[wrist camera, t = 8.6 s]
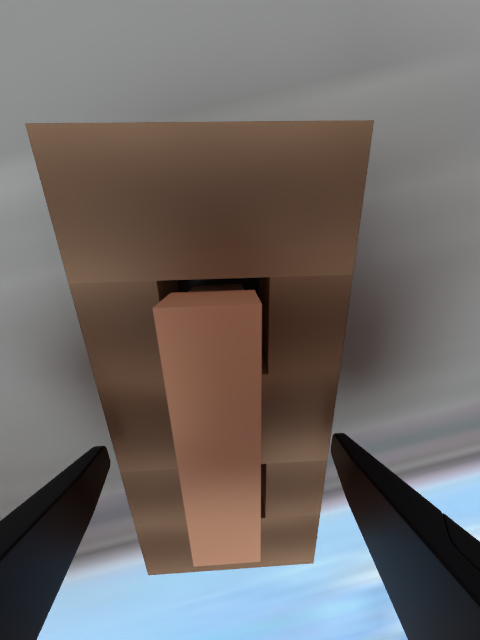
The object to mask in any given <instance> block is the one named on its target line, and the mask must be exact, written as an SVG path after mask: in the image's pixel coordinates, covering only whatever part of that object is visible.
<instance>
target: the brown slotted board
mask: <svg viewBox="0 0 480 640" xmlns="http://www.w3.org/2000/svg"><path fill="white" fill-rule="evenodd" d="M373 124H374V120H367V121H253V122H140V123H27V124H25V125H26V129H27V132H28V136H29V140H30V143H31V147H32V151H33V154H34V158H35V162H36V165H37V169H38V173H39V176H40V180H41V184H42V187H43V191H44V195H45V198H46V202H47V206H48V209H49V213H50V217H51V220H52V224H53V228H54V231H55V235H56V239H57V242H58V246H59V250H60V253H61V257H62V261H63V264H64V268H65V272H66V275H67V279H68V283H69V286H70V290H71V294H72V297H73V301H74V305H75V308H76V312H77V316H78V319H79V323H80V327H81V330H82V334H83V338H84V341H85V345H86V349H87V352H88V356H89V360H90V363H91V367H92V371H93V374H94V378H95V382H96V385H97V389H98V393H99V396H100V400H101V404H102V407H103V411H104V415H105V418H106V422H107V426H108V429H109V433H110V437H111V440H112V444H113V448H114V451H115V455H116V459H117V462H118V466H119V470H120V473H121V477H122V481H123V484H124V488H125V492H126V495H127V499H128V503H129V506H130V510H131V514H132V517H133V521H134V525H135V528H136V532H137V536H138V539H139V543H140V547H141V550H142V554H143V558H144V561H145V565H146V569H147V572H148V575H157V574H171V573H185V572H199V571H212V570H226V569H240V568H254V567H268V566H281V565H295V564H309V563H313V562H314V554H315V547H316V540H317V533H318V525H319V518H320V511H321V503H322V496H323V489H324V481H325V474H326V467H327V460H328V452H329V445H330V438H331V430H332V423H333V416H334V408H335V401H336V394H337V386H338V379H339V372H340V365H341V357H342V350H343V343H344V335H345V328H346V321H347V313H348V306H349V299H350V292H351V284H352V277H353V270H354V262H355V255H356V248H357V240H358V233H359V226H360V218H361V211H362V204H363V197H364V189H365V182H366V175H367V167H368V160H369V153H370V145H371V138H372V131H373ZM228 278H259V300H260V301H261V303H262V373H261V560H260V562H251V563H237V564H224V565H210V566H196V567H194V566H193V560H192V554H191V547H190V541H189V535H188V528H187V522H186V516H185V509H184V503H183V497H182V491H181V484H180V478H179V472H178V465H177V459H176V453H175V447H174V440H173V434H172V428H171V421H170V415H169V409H168V402H167V396H166V390H165V384H164V377H163V371H162V365H161V358H160V352H159V346H158V340H157V333H156V327H155V321H154V314H153V307H154V306H156V305H157V304H158V303H159V302H160V301H161V300H163V299H164V298H165V297H166V296H167V295H169V294H170V293H177V292H178V285H177V280H196V279H228Z"/></svg>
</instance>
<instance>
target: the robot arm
mask: <svg viewBox="0 0 480 640" xmlns="http://www.w3.org/2000/svg"><path fill="white" fill-rule="evenodd" d="M331 454H332V458H333V461H334V464H335V467H336V469H337V472H338V475H339V478H340V481H341V484H342V487H343V490H344V493H345V496H346V499H347V501H348V504H349V506H350V508H351V511H352V513H353V515H354V517H355V520H356V522H357V524H358V526H359V529H360V531H361V533H362V536H363V538H364V540H365V542H366V545H367V547H368V549H369V552H370V554H371V556H372V558H373V561H374V563H375V565H376V568H377V570H378V572H379V574H380V577H381V579H382V581H383V583H384V586H385V588H386V590H387V593H388V595H389V597H390V599H391V602H392V604H393V606H394V609H395V611H396V613H397V615H398V618H399V620H400V622H401V624H402V627H403V629H404V631H405V634H406V636H407V638H408V640H480V542H479V541H478V540H477V539H476V538H474V537H473V536H472V535H471V534H469V533H468V532H467V531H465V530H464V529H463V528H462V527H460V526H459V525H458V524H456V523H455V522H454V521H453V520H452V519H450V518H449V517H448V516H447V515H445V514H442V512H441V511H440V510H439V509H438V508H436V507H435V506H434V505H433V504H431V503H430V502H429V501H428V500H427V499H425V498H424V497H423V496H422V495H420V494H419V493H418V492H417V491H415V490H414V489H413V488H412V487H410V486H409V485H408V484H407V483H405V482H404V481H403V480H402V479H400V478H399V477H398V476H397V475H395V474H394V473H393V472H392V471H390V470H389V469H388V468H387V467H385V466H384V465H383V464H382V463H381V462H379V461H378V460H377V459H376V458H374V457H373V456H372V455H371V454H369V453H368V452H367V451H366V450H364V449H363V448H362V447H361V446H359V445H358V444H357V443H356V442H354V441H353V440H352V439H351V438H349V437H348V436H347V435H346V434H344V433H335V434H333V437H332V444H331ZM109 468H110V458H109V455H108V451H107V448H106V447H105V446H95V447H93V448H91V449H90V450H89V451H88V452H86V453H85V454H84V455H83V456H81V457H80V458H79V459H78V460H76V461H75V462H74V463H73V464H71V465H70V466H69V467H67V468H66V469H65V470H64V471H62V472H61V473H60V474H59V475H57V476H56V477H55V478H54V479H52V480H51V481H50V482H49V483H47V484H46V485H45V486H44V487H42V488H41V489H40V490H39V491H37V492H36V493H35V494H34V495H32V496H31V497H30V498H29V499H27V500H26V501H25V502H24V503H22V504H21V505H20V506H19V507H17V508H16V509H15V510H14V511H12V512H11V513H10V514H8V515H7V516H6V517H5V518H3V519H2V520H1V521H0V640H37V637H38V635H39V633H40V631H41V629H42V626H43V624H44V622H45V620H46V618H47V615H48V613H49V611H50V609H51V607H52V604H53V602H54V600H55V598H56V595H57V593H58V591H59V589H60V587H61V584H62V582H63V580H64V578H65V576H66V573H67V571H68V569H69V567H70V564H71V562H72V560H73V558H74V556H75V553H76V551H77V549H78V547H79V545H80V542H81V540H82V538H83V536H84V533H85V531H86V529H87V527H88V525H89V522H90V520H91V518H92V515H93V513H94V510H95V508H96V505H97V502H98V499H99V497H100V494H101V491H102V488H103V485H104V482H105V480H106V477H107V474H108V471H109Z"/></svg>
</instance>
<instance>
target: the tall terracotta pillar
mask: <svg viewBox="0 0 480 640" xmlns="http://www.w3.org/2000/svg"><path fill="white" fill-rule="evenodd" d="M153 314H154V321H155V327H156V333H157V340H158V346H159V352H160V358H161V365H162V371H163V377H164V384H165V390H166V396H167V402H168V409H169V415H170V421H171V428H172V434H173V440H174V447H175V453H176V459H177V465H178V472H179V478H180V484H181V491H182V497H183V503H184V509H185V516H186V522H187V528H188V535H189V541H190V547H191V554H192V560H193V566H194V567H196V566H210V565H224V564H237V563H251V562H260V560H261V373H262V303H261V301H260V300H259V298H258V296H257V294H256V292H255V290H244V289H243V285H242V284H229V285H199V286H192V287H191V289H190V290H189V291H188V292H177V293H170V294H169V295H167V296H166V297H165V298H164V299H163V300H161V301H160V302H159V303H158V304H157V305H156V306H154V307H153Z"/></svg>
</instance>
